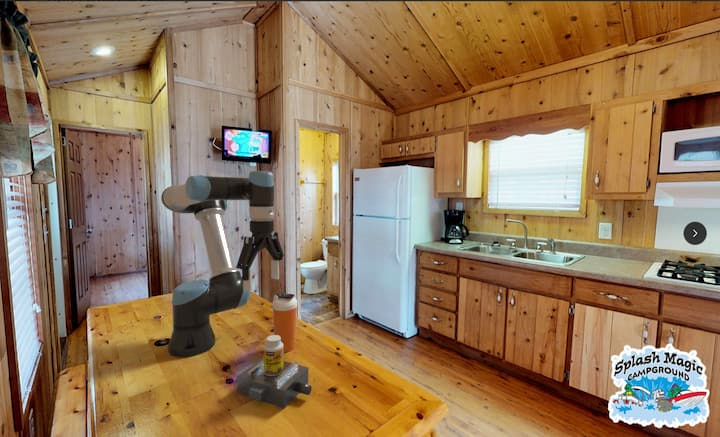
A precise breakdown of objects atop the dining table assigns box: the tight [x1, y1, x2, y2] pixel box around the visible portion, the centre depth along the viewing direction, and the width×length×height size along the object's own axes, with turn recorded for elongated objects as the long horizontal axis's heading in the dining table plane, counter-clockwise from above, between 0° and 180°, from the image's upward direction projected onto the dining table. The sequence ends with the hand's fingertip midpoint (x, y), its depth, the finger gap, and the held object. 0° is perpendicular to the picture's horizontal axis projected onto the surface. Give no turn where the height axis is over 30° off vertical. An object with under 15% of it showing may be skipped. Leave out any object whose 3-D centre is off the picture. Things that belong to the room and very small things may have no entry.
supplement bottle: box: [263, 334, 284, 376], centre depth 91 cm, size 6×6×10 cm
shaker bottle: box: [271, 291, 298, 353], centre depth 115 cm, size 9×9×20 cm
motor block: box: [236, 356, 313, 409], centre depth 90 cm, size 20×14×6 cm
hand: (262, 284), depth 103 cm, fingers open, 13 cm apart
